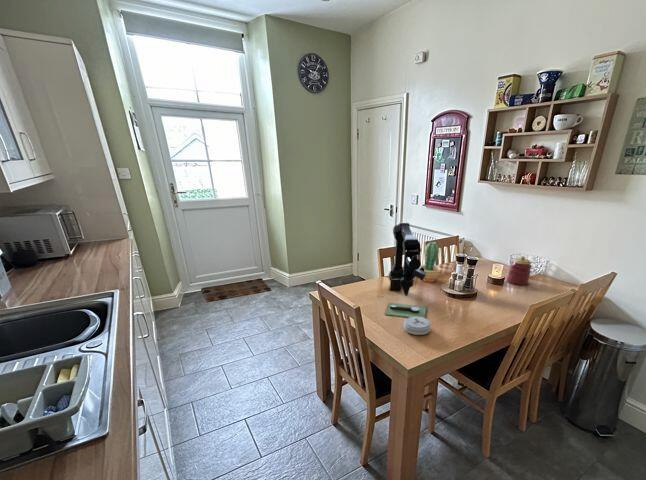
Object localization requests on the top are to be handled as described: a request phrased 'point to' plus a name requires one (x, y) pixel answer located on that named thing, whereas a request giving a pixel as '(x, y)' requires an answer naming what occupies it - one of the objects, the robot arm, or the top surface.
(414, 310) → the spoon
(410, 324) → the lid
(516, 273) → the kitchen canister
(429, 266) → the potted cactus
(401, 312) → the placemat
